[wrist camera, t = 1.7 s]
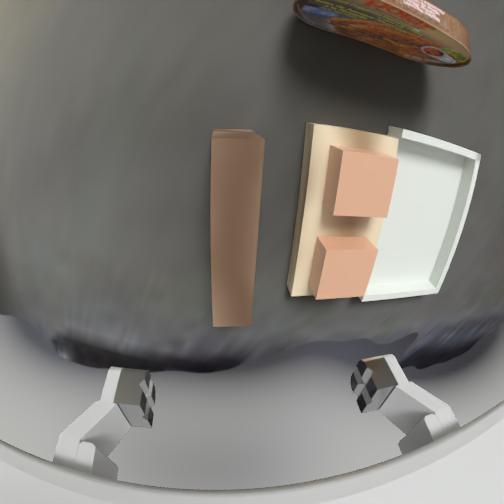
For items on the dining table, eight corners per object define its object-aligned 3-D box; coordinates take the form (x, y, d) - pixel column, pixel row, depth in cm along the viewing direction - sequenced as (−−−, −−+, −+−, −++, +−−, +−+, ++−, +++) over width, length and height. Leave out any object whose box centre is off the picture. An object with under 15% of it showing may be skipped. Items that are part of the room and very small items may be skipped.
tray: (353, 288, 30) (361, 301, 28) (388, 125, 22) (402, 128, 20) (428, 282, 32) (437, 292, 30) (466, 149, 23) (480, 154, 21)
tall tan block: (212, 276, 28) (213, 326, 22) (213, 128, 21) (211, 138, 15) (243, 276, 28) (250, 325, 22) (251, 129, 21) (264, 139, 15)
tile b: (308, 283, 27) (315, 299, 24) (316, 236, 24) (326, 250, 22) (354, 281, 27) (364, 296, 25) (366, 236, 25) (378, 249, 23)
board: (286, 284, 29) (291, 296, 27) (306, 122, 21) (314, 124, 19) (355, 281, 30) (362, 292, 28) (387, 135, 22) (398, 139, 20)
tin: (281, 21, 17) (313, -16, 9) (284, -8, 15) (316, -51, 8) (427, 70, 19) (490, 73, 12) (429, 44, 17) (490, 41, 10)
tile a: (322, 203, 23) (333, 215, 21) (330, 144, 20) (343, 150, 18) (372, 206, 23) (386, 217, 21) (382, 152, 21) (398, 159, 19)
